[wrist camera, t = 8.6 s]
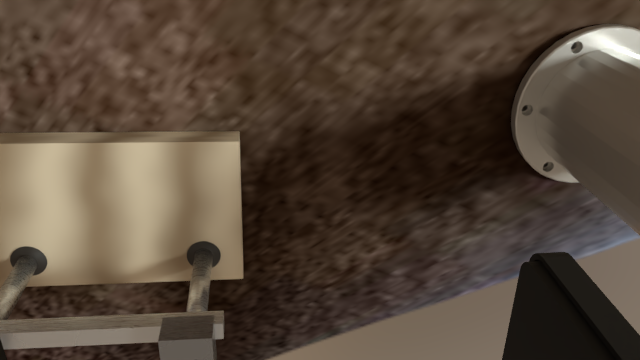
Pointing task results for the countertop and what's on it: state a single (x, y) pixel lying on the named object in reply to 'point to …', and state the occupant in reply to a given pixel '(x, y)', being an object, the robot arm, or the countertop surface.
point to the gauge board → (120, 205)
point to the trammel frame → (133, 325)
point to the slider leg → (15, 285)
